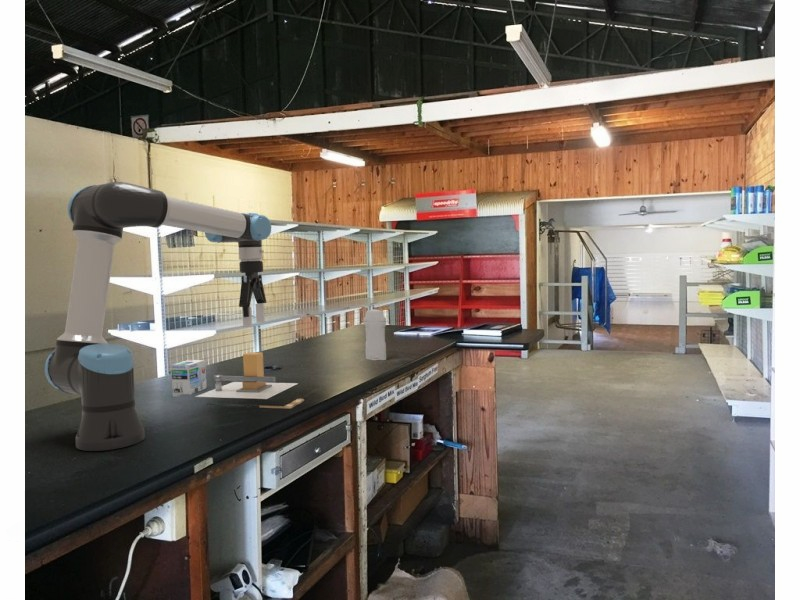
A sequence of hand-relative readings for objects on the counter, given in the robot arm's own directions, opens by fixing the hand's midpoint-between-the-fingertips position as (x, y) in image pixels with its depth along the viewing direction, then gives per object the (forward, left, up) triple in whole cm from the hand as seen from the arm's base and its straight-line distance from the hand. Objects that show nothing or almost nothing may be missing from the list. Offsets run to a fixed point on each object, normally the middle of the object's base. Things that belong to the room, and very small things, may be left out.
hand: (254, 324), depth 199 cm
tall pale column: (+68, -21, -23) cm, 75 cm away
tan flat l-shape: (-15, -16, -23) cm, 32 cm away
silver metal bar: (-4, +3, -18) cm, 19 cm away
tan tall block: (0, +1, -22) cm, 22 cm away
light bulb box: (-5, +22, -23) cm, 32 cm away
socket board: (-2, +2, -23) cm, 23 cm away
